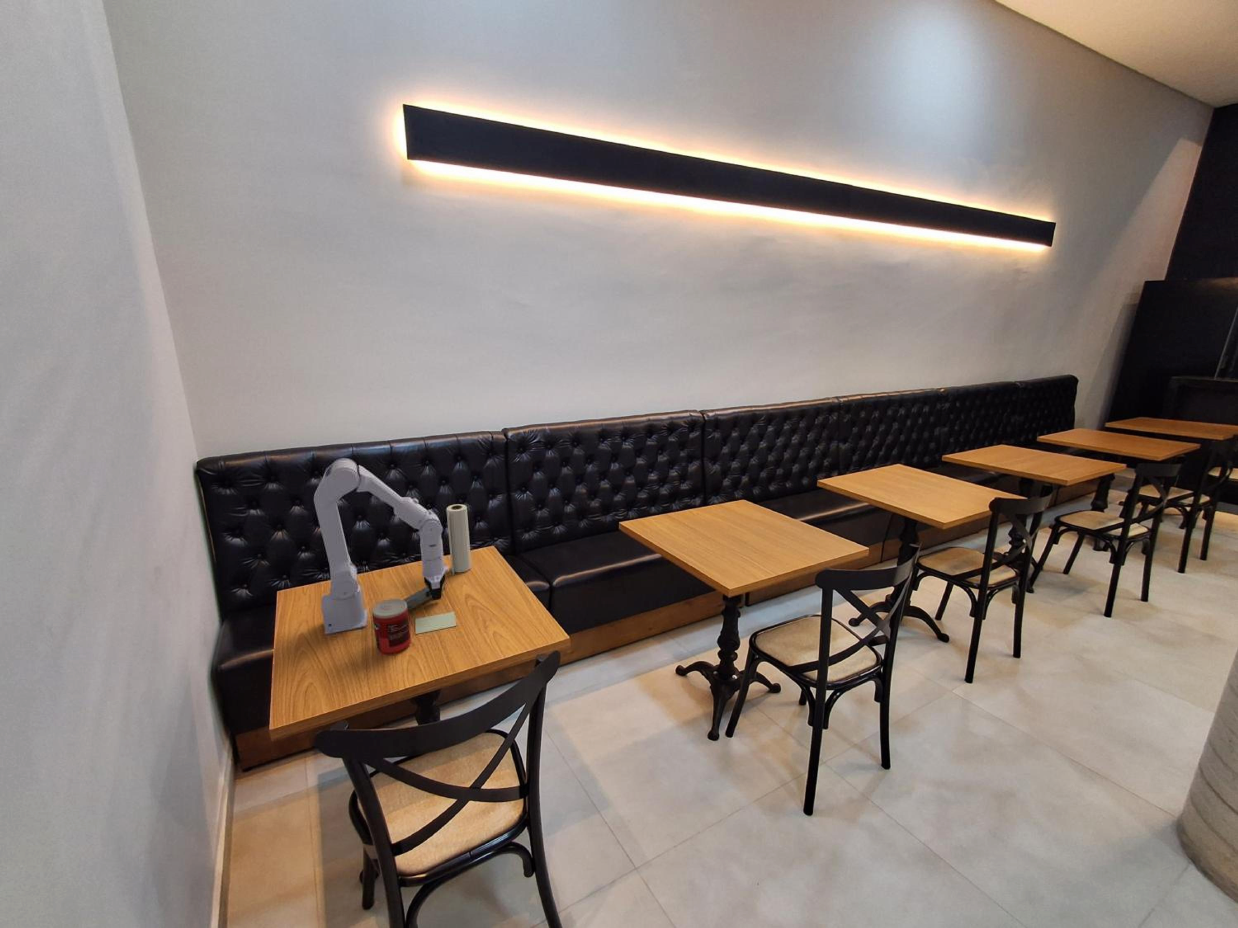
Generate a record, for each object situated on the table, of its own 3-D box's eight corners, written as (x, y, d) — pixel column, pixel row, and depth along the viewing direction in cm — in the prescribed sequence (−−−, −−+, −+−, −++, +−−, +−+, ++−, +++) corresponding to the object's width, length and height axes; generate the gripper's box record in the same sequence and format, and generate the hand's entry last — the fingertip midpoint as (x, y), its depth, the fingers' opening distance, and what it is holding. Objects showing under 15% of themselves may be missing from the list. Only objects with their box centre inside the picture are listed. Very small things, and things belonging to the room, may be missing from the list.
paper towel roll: (466, 562, 168) (461, 502, 162) (474, 568, 164) (470, 507, 158) (445, 569, 163) (439, 507, 157) (453, 576, 159) (447, 513, 153)
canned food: (386, 635, 129) (380, 597, 126) (416, 636, 129) (412, 598, 126) (371, 655, 122) (365, 615, 119) (403, 656, 122) (398, 616, 119)
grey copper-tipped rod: (393, 620, 134) (392, 608, 133) (386, 617, 135) (385, 605, 134) (447, 589, 149) (446, 579, 148) (440, 587, 150) (439, 576, 150)
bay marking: (415, 634, 130) (415, 633, 130) (415, 619, 136) (415, 619, 136) (456, 626, 134) (456, 625, 134) (454, 612, 140) (453, 611, 140)
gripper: (449, 564, 136) (453, 609, 139) (445, 543, 148) (449, 584, 152) (421, 569, 133) (426, 614, 137) (420, 546, 146) (424, 588, 150)
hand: (436, 598), depth 144 cm, fingers closed
